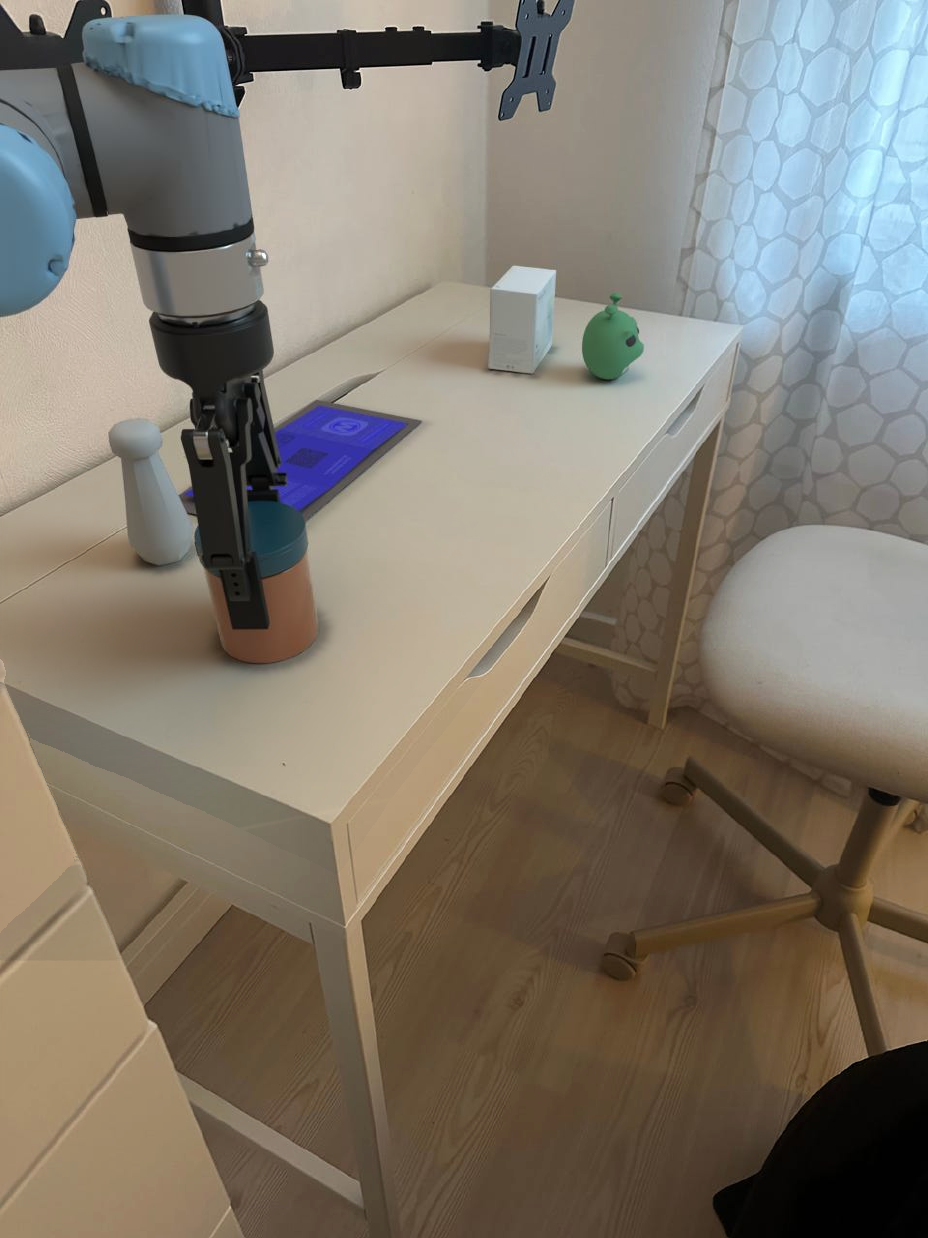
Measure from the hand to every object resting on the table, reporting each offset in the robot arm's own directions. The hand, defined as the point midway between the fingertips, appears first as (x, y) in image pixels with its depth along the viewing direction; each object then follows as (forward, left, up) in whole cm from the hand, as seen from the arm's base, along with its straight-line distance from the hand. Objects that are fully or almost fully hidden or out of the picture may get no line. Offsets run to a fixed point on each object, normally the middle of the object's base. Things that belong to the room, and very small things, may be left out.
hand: (262, 591), depth 71 cm
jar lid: (0, 0, +6) cm, 6 cm away
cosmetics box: (+23, +59, -4) cm, 63 cm away
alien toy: (+34, +52, -4) cm, 62 cm away
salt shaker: (-12, +12, -4) cm, 18 cm away
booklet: (-2, +30, -4) cm, 30 cm away
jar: (0, 0, -4) cm, 4 cm away
